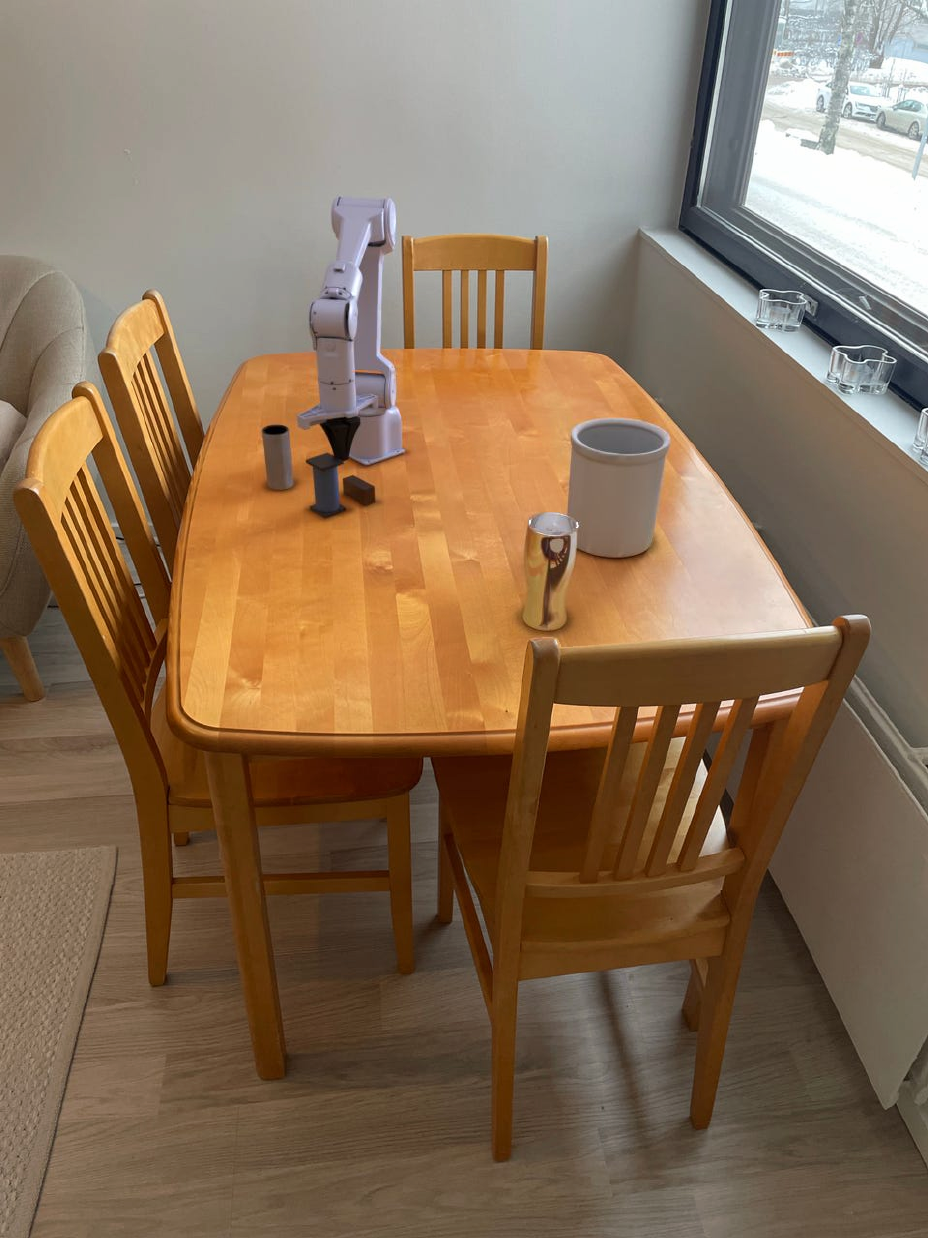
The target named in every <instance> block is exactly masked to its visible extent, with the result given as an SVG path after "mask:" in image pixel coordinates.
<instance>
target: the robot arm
mask: <svg viewBox="0 0 928 1238" xmlns="http://www.w3.org/2000/svg"><path fill="white" fill-rule="evenodd" d="M330 211H331V212H330V218H331V219H330V220H331V228H332V231H333V233H334V235H335V238H336V239H337V241H338V243H337V250H336V256H335V260H334V261H332V262H331V263H329V265H327V267H326V269H325V273H324V277H323V280H322V284H321V288H320V292H319V296H318V298H317V299H316V300H315V301H312V302H311V303H310V305H309V310H308V330H309V334H310V337H311V340H312V348H313V351H315V353H316V367H317V368H316V369H317V380H318V396H319V397H318V398H319V403H318V404H316V405H315V406H313V407H311V408H309V409H307V410H306V411H304V412H301V413H299V414H297V415H296V419H297V427H298V428H300V429H302V430H304V431H307V430H310V429H311V427H314V426H317V425H319V426H320V428H321V429H322V431H323V432H324V435H325V436H326V438H327V440H328V443H329V445H330V448H331V450H332V455H333V456H335V457H337V458H339V459H341V460H343V461H344V462H347V461H349V458H350V459H352V460H354V461H356V462H358V463H360V464H362V465H363V466H370V465H373V464H376V463H378V462H381V461H384V460H387V459H390V458H393V457H396V456H399V455H401V454H404V453H405V452H406V450H405V449H404V448H403V436H402V435H403V430H402V428H403V426H402V425H403V424H402V415H401V413H400V410H399V408H398V407H397V406H396V405H395V404H396V399H397V379H396V369H395V366H394V364H393V363H392V362H391V361H390V360H389V359H387V358H386V357H385V356H384V355H383V354H382V353H381V342H382V341H381V339H382V338H381V337H382V297H383V295H382V294H383V267H384V261H385V257H386V255H388V254H390V253H392V252H394V250H395V245H396V232H397V230H396V228H397V227H396V226H397V214H396V205H395V202H394V201H393V200H392V198H390V197H386V198H378V197H377V198H376V197H356V196H342V195H336V196H335V198H334V199H333V200H332V203H331V210H330ZM356 370H358V371H356ZM363 371H364V372H363ZM365 371H370V372H365ZM371 371H372V372H371ZM377 372H378V373H377Z"/></svg>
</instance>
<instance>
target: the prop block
mask: <svg viewBox="0 0 928 1238" xmlns="http://www.w3.org/2000/svg"><path fill="white" fill-rule="evenodd" d="M342 491H343V495H345V496H346V497H348V498H350V499H352V500H353V501H354V502H356V503H359V504H360V505H362V506H364V507H366V506H368V505H371V504H374V503H376V487H375V485H373V484H371V483H369V482H368V481H366V480H364V479H363V478H360V477H358V476H357V475H354V474H351V475H348V476H345V477H342Z"/></svg>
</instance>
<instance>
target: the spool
mask: <svg viewBox="0 0 928 1238" xmlns="http://www.w3.org/2000/svg"><path fill="white" fill-rule="evenodd" d="M344 463H345V461H343V460H341V459H339V458H337V457H335V456H334V454H332V453H330V452H325V453H322V454H319V455H316V456H312V457H310V458H309V457H308V458H306V459H305V464H307V465H309V466H311V467H312V475H313V476H312V477H313V478H312V479H313V488H314V489H313V490H314V501H315V502H314V504H311V505H309V510H310V511H312V512H314V513H315V514H317V515H319V516H320V517H322V518H323V519H328V518H331V517H333V516H336V515H338V514H341V513H343V512H346V511H347V507H346V506H345V505H343V504H341V501H340V483H339V468H338V467H339V466H343V465H344Z"/></svg>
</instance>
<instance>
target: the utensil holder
mask: <svg viewBox="0 0 928 1238" xmlns="http://www.w3.org/2000/svg"><path fill="white" fill-rule="evenodd" d="M570 445H571V452H570V465H569V466H570V469H569V478H568V479H569V480H568V495H567V511H566V512H567V513H566V515H568V516H570V517H572V518H573V519H575V520H576V522H577V523H578V540H577V550H580V551H582V552H584V553H587V554H589V555H593V556H597V557H603V558H611V559H613V558H614V559H615V558H628V557H634V556H637V555H640V554H642V553H644V552H645V551H647V550H648V549H649V548H650V547H651V546H652V543H653V538H654V534H655V529H656V523H657V516H658V511H659V504H660V497H661V492H662V487H663V486H662V484H663V481H664V480H663V479H664V474H665V469H666V468H665V467H666V460H667V454H668V452H669V450H670V446H671V437H670V435H669V433H668V432H667V431H666V430H665V429H664V428H662V427H660V426H658V425H656V424H653V423H650V422H648V421H644V420H640V419H635V418H634V419H633V418H624V417H604V418H594V419H589V420H586V421H584V422H580V423H578V424H576V425H575V426H574V427H573V428H572V429H571V433H570Z"/></svg>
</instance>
